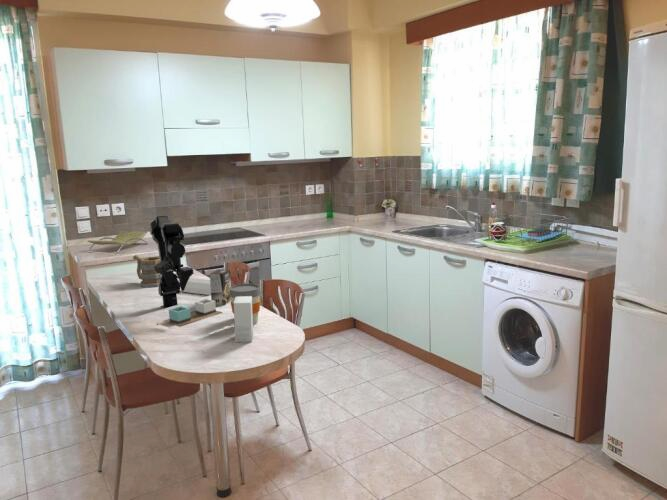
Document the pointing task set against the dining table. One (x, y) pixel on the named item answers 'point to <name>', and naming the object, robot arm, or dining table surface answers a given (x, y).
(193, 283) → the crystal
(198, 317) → the pin board
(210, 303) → the grey sleeve
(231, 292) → the reusable coffee cup
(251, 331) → the skincare box
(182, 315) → the teal sleeve
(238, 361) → the dining table surface
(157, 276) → the tankard
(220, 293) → the coffee box
